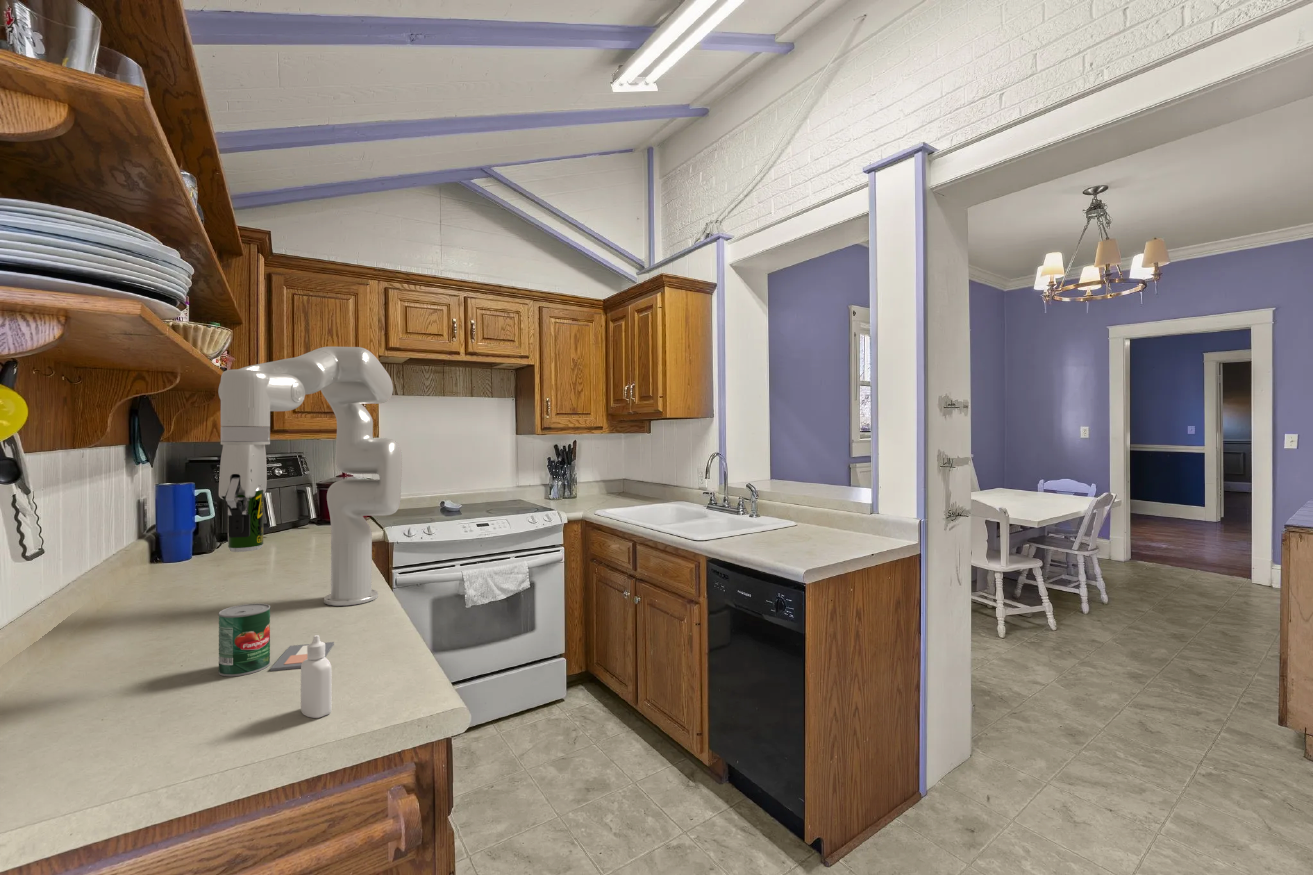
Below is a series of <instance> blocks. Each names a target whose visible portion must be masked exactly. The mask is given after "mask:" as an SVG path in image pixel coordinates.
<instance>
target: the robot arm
mask: <svg viewBox="0 0 1313 875" xmlns="http://www.w3.org/2000/svg"><path fill="white" fill-rule="evenodd" d="M319 391H320V392H321V393H322V396H323V397H324V399H325V400H326V402H327V403H328V404H329V406H330V408H331V410H332V411H333V413H334V416H335V419H336V441H335V442H336V443H335V465H336V468H337V469H338V471H339V472H341V473H344V474H349V475H378V477H379V479H378V478H377V479H373V478H372V479H367V478H366V479H365V478H361V479H360V478H349V479H346V478H345V479H341V480H337V481H335V482H333V483H332V484H331V485H330V486H329V487H328V489H327V491H326V492H327V493H326V501H327V502H326V503H327V508H328V512H329V518H330V533H331V534H330V536H331V537H330V538H331V539H330V593H328V594H327V595H325V596H324V598H323V603H324V604H326V605H328V606H334V607H335V606H339V607H341V606H342V607H343V606H345V607H346V606H354V605H360V604H364V603H365V604H366V603H368V602H371V601H375V600H376V599H377V598H378V597H379V592H378V591H377V590H376V589H373V588H372V582H373V581H372V580H373V578H372V576H373V575H372V573H373V567H372V563H373V562H372V561H373V554H372V552H373V546H372V545H373V542H372V541H373V533H372V528H371V526H370V524H369V523H368V521H367V520H366V518H365V516H366V517H367V516H371V517H372V516H373V517H375V516H377V517H378V516H391V515H393V514H395V513H397V511H398V510H399V508H400V505H401V496H402V494H401V493H402V471H403V470H402V468H403V455H402V449H401V447H400V445H399V443H398V442H397V441H396V440H394V439H392V438H387V437H385V438H384V437H383V438H382V437H381V438H379V437H377V438H374V434H373V433H374V432H373V431H374V420H373V417H372V415H371V414H370V412H369V411H368V410H367V408H366V407H365V406H364V404H367V405H368V404H374V405H375V404H379V405H380V404H385V403H387V402H388V401H389V400H390V399H391V398H392V396H393V392H394V386H393V382H392V379H391V376H390V374H389V373H388V371H386V368H385V367H384V366H383V365H382V363H381V362H380V361H379V359H378V358H377V357H376V355H374V354H373V353H372V351H370V350H368V349H367V348H364V347H361V346H324V347H319V348H316V349H314V350H310V351H309V352H306V353H304V354H301V355H299V356H296V357H290V358H288V357H287V358H283V359H279V360H274V361H268V362H262V363H261V362H260V363H257V364H252V365H248V366H244V367H241V368H238V369H237V368H236V369H227V370H225V371H223V372H222V373H221V377H220V382H219V386H218V390H217V392H218V397H219V399H220V445H222V450H221V455H220V464H219V465H220V466H219V476H218V477H219V480H218V481H219V482H218V497H219V498H220V499H222V500H225V501H226V503H227V537H228V536H229V537H230V538H234V537H248V536H250V515H247V514H248V508H249V499H250V498H252V497H254V496H255V493H256V490H257V488H258V487H259V486H258V485H261V484H262V488H263V494H265V493H266V491H267V485H268V484H267V481H268V480H267V479H268V474H267V473H268V471H267V470H268V468H267V453H266V452H267V451H266V445H271V412H289V411H293V410H295V409H297V408H299V407H300V406H301V405H302V404H303V403H304V401H305V398H306V395H313V394H315V393H318V392H319ZM238 495H244V496H245V497H238ZM241 502H243V506H242V503H241ZM228 507H229V508H228ZM228 515H229V516H228Z"/></svg>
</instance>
